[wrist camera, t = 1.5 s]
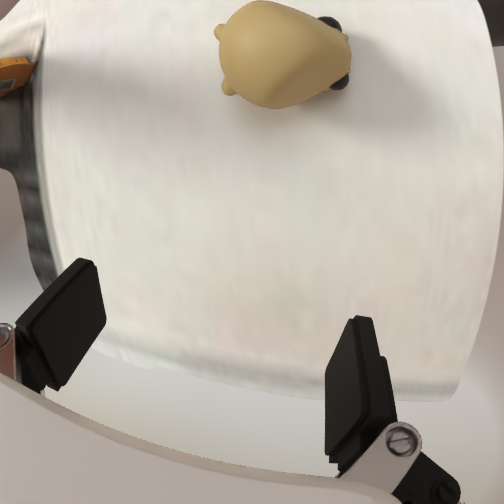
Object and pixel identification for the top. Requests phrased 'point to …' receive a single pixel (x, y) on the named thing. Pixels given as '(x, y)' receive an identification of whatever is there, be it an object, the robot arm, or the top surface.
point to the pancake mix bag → (14, 73)
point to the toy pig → (281, 55)
